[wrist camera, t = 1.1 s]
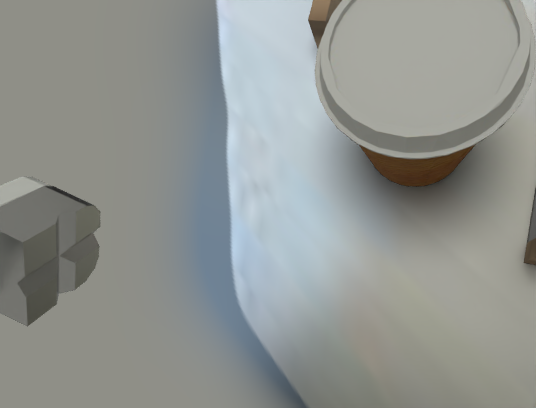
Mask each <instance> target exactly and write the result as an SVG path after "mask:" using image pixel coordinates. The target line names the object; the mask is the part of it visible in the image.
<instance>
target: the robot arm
mask: <svg viewBox="0 0 536 408" xmlns="http://www.w3.org/2000/svg"><path fill="white" fill-rule="evenodd" d="M99 227H100V211H99V210H98V209H97V208H96V206H94V205H92V204H90V203H88V202H86V201H84V200H81V199H80V198H77V197H75V196H73V195H71V194H69V193H67V192H65V191H63V190H60V189H58V188H56V187H54V186H51V185H49V184H46V183H45V182H42V181H40V180H38V179H36V178H34V177H26V176H22V177H20V178H17V179H15V180H13V181H10V182H8V183H6V184H3V185H1V186H0V313H1V314H3V315H5V316H7V317H9V318H11V319H13V320H15V321H17V322H19V323H21V324H24V325H26V326H29V325H30V324H31V323H33V322H34V321H35V320H37V319H38V318H39V317H41V316H42V315H43V314H44V313H46V312H47V311H48V310H50V309H51V308H52V307H54V306H55V305H56V304H57V300H58V296H59V293H64V292H68V291H73V290H75V289H77V288H78V287H79V286H80V285H82V284H83V283H84V282H85V281H86V280H87V279H88V277H89V276H90V274H91V273H92V271H93V270H94V269H95V266H96V263H97V260H98V257H99V244H98V242H97V240H96V238H95V236H94V234H93V233H94V232H95V231H96V230H97V229H98V228H99Z"/></svg>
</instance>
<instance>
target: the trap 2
mask: <svg viewBox="0 0 536 408" xmlns="http://www.w3.org/2000/svg"><path fill="white" fill-rule="evenodd" d="M534 238H536V189H535V196H534V202H533V208H532V215H531V221H530V227H529V234H528V240H527V243H528V242H529V241H531V240H533V239H534Z"/></svg>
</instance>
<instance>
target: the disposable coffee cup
mask: <svg viewBox="0 0 536 408" xmlns="http://www.w3.org/2000/svg"><path fill="white" fill-rule="evenodd" d="M535 64H536V42H535V37H534V34H533V30H532V26H531V23H530V21H529V19H528V18H527V15H526V12H525V9H524V6H523V3H522V2H521V0H342V1H341V2H340V4H339V5H338V7H337V8H336V9H335V11H334V12H333V13H332V15H331V17H330V19H329V22H328V24H327V26H326V28H325V32H324V34H323V36H322V39H321V42H320V45H319V48H318V51H317V56H316V65H315V80H316V87H317V91H318V95H319V98H320V101H321V103H322V105H323V107H324V109H325V111H326V113H327V115H328V116H329V117H330V119H331V120H332V121H333V123H334V124H335V126H336V127H337V128H338V129H339V130H340V131H342V132H343V133H344V134H345V135H347V136H348V137H349V138H350V139H351V140H353V141H354V142H355V143H357V144H359V146H360V147H361V149H362V150H363V151H364V152H365V154H366V155H367V157H368V158H369V159H370V161H371V162H372V163H373V165H374V166H375V168H376V169H377V170H378V171H379V172H380V173H381V174H382V175H383V176H384V177H386V178H387V179H389V180H390V181H393V182H395V183H398V184H400V185H405V186H416V187H417V186H426V185H429V184H432V183H435V182H438V181H440V180H442V179H443V178H445V177H446V176H448V175H449V174H450V173H451V172H453V170H454V169H455V168H456V167H457V165H458V164H459V163H460V162H461V161H462V160H463V159H464V157H465V156H466V155H467V154H468V153H469V152H470V151H471V150H472V148H473V147H474V146H475V145H476V144H477V143H478V142H480V141H481V140H483V139H485V138H486V137H488V136H489V135H491V134H492V133H494V132H495V131H496V130H498V129H499V128H500V127H502V126H503V124H504V123H505V122H506V121H507V120H508V119H509V118H510V117H511V116H512V114H513V113H514V112H515V110H516V109H517V108H518V107H519V105H520V104H521V103H522V101H523V99H524V97H525V95H526V93H527V91H528V89H529V87H530V84H531V81H532V77H533V74H534V70H535Z"/></svg>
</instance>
